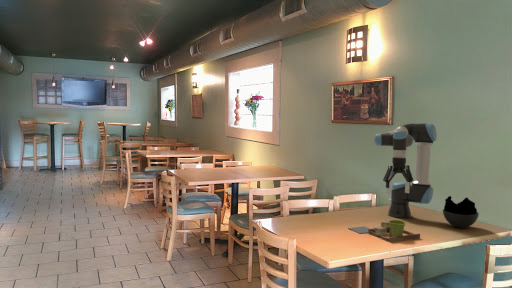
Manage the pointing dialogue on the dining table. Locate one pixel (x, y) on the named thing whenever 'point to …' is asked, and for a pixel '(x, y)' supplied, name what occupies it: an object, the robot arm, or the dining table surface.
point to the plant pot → (396, 227)
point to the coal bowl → (460, 213)
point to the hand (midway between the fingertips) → (397, 193)
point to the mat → (360, 229)
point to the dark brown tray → (397, 238)
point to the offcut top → (385, 224)
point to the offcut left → (380, 230)
